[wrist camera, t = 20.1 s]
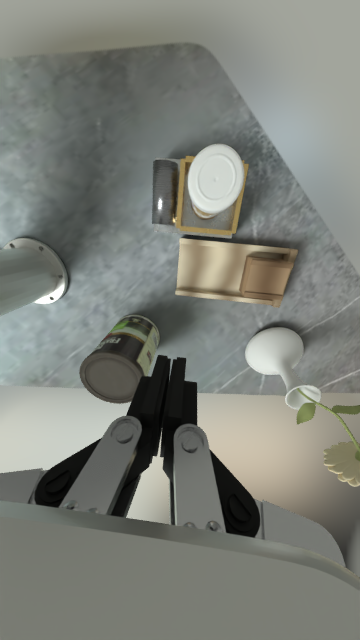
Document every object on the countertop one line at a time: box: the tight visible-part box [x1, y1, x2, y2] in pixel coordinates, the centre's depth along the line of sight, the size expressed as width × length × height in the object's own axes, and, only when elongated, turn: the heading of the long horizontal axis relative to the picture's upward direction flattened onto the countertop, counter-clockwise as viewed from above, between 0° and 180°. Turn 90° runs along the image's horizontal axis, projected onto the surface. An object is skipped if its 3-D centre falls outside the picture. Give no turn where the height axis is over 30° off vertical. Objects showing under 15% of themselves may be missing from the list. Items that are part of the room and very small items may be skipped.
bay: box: [175, 238, 298, 308], centre depth 33 cm, size 18×10×4 cm, turn 85°
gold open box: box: [152, 156, 249, 239], centre depth 28 cm, size 12×9×7 cm
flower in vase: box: [245, 327, 360, 486], centre depth 29 cm, size 13×11×25 cm
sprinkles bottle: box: [188, 144, 244, 220], centre depth 21 cm, size 5×5×14 cm
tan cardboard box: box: [239, 256, 294, 301], centre depth 32 cm, size 6×6×4 cm
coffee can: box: [79, 315, 160, 404], centre depth 36 cm, size 10×10×14 cm
